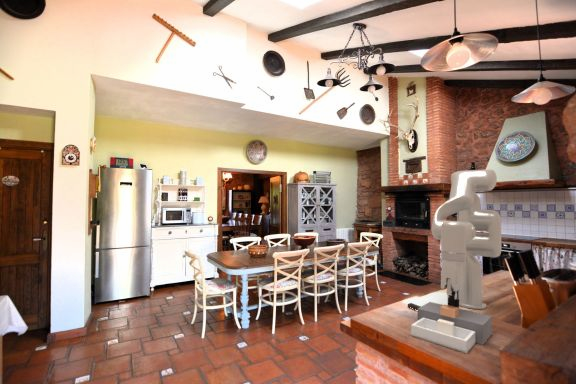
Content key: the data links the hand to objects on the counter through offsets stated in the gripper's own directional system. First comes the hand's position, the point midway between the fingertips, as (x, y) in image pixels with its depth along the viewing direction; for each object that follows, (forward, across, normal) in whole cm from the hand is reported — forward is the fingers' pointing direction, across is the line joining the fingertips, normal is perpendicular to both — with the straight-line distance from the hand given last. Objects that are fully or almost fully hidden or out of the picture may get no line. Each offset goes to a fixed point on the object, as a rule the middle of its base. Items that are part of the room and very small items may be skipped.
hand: (453, 310), depth 103 cm
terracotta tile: (+1, +4, 0) cm, 4 cm away
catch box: (+7, +11, 0) cm, 13 cm away
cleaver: (+7, -12, -6) cm, 16 cm away
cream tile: (+4, +8, 0) cm, 9 cm away
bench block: (+7, 0, 0) cm, 7 cm away
